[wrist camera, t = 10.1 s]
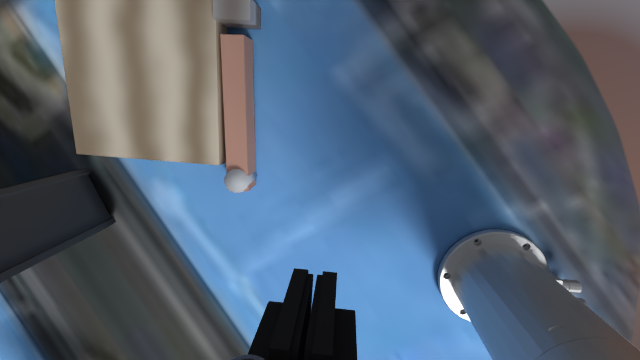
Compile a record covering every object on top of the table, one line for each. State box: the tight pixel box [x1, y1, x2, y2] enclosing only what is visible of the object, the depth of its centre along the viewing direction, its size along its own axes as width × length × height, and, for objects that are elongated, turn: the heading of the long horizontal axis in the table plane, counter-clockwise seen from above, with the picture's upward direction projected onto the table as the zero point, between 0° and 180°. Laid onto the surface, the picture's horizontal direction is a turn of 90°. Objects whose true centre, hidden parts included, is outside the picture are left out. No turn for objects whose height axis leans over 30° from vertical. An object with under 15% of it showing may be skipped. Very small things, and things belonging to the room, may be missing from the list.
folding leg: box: [220, 34, 257, 193], centre depth 33 cm, size 16×3×4 cm, turn 178°
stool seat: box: [55, 0, 261, 165], centre depth 33 cm, size 21×18×4 cm
